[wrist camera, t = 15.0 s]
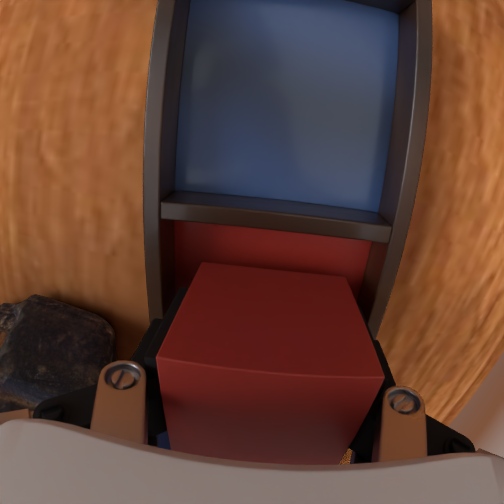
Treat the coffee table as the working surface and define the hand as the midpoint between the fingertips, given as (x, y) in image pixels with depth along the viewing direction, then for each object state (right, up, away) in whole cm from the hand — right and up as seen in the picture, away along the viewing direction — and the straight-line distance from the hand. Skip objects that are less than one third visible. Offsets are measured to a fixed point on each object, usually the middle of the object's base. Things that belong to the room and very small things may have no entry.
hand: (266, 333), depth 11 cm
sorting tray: (0, +5, 0) cm, 5 cm away
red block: (0, 0, 0) cm, 0 cm away
